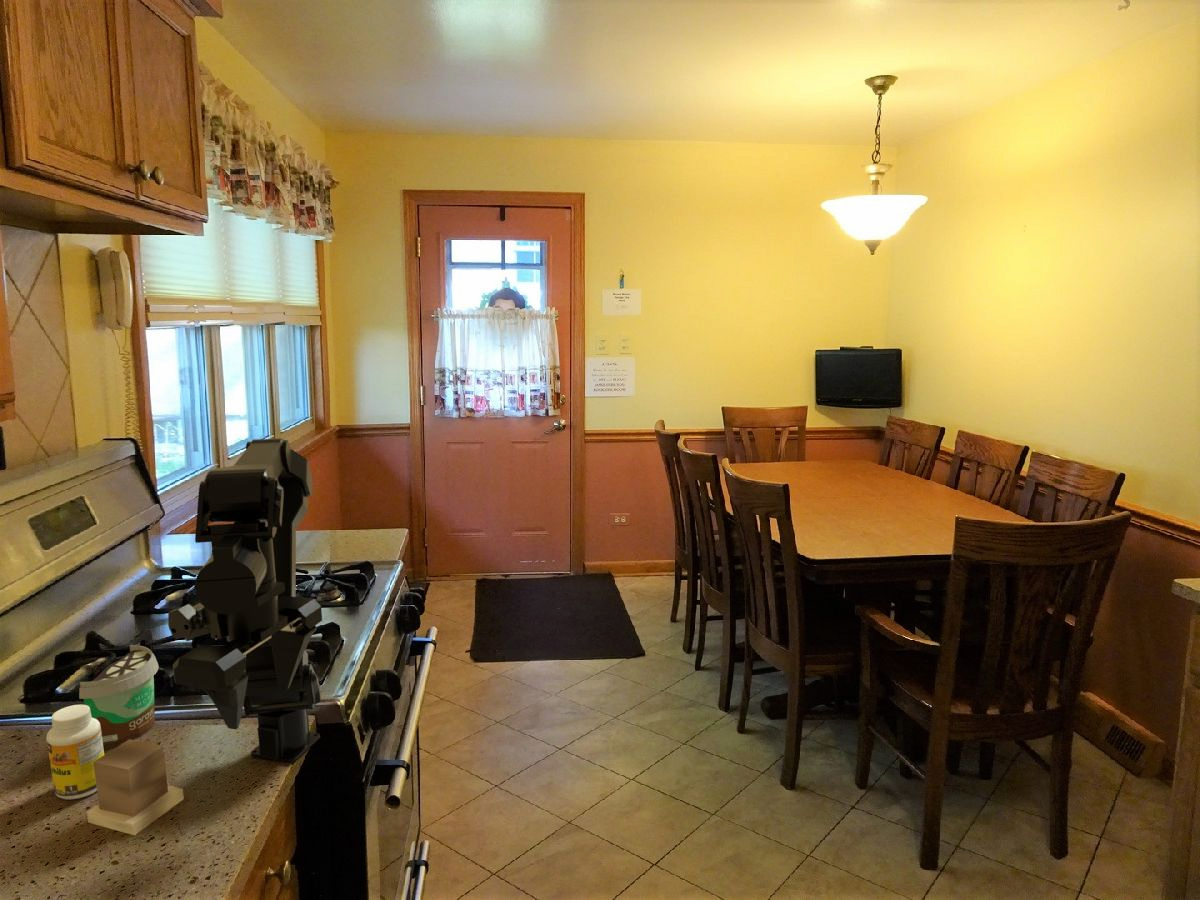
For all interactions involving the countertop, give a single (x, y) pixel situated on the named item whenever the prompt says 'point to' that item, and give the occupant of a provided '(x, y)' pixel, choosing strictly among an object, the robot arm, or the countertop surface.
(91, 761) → the supplement bottle
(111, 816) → the birch block
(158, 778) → the walnut cube
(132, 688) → the food container
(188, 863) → the countertop surface
